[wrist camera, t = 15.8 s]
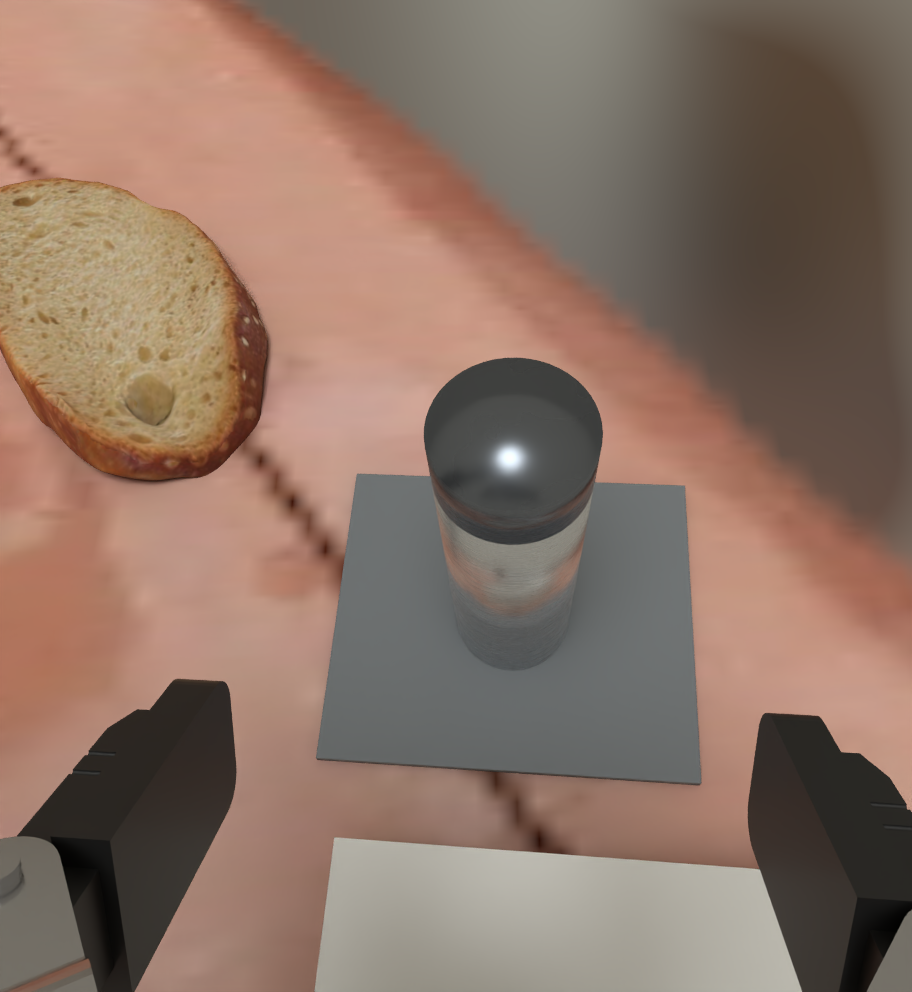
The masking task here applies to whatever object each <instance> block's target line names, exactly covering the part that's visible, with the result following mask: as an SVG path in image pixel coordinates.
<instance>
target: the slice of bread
mask: <svg viewBox="0 0 912 992" xmlns="http://www.w3.org/2000/svg"><path fill="white" fill-rule="evenodd" d="M0 350H1V352H2V354H3V356H4V358H5V361H6V363H7V365H8V367H9V369H10V371H11V373H12V375H13V376H14V378H15V380H16V382H17V383H18V385H19V387H20V388H21V390H22V392H23V393H24V395H25V397H26V399H27V401H28V403H29V405H30V406H31V408H32V410H33V411H34V412H35V414H36V415H37V417H38V418H39V419H40V420H41V421H42V422H43V423H44V424H45V425H46V426H48V427H50V428H52V429H53V430H54V431H55V432H56V434H57V435H58V436H59V437H60V438H61V439H62V440H63V442H64V443H65V444H66V445H67V446H68V447H69V448H70V449H72V450H73V451H74V452H75V453H76V454H77V455H78V456H79V457H81V458H82V459H83V460H84V461H86V462H87V463H89V464H90V465H91V466H93V467H95V468H97V469H98V470H100V471H102V472H106V473H110V474H114V475H117V476H122V477H127V478H134V479H143V480H164V479H171V478H178V477H193V478H198V477H203V476H206V475H208V474H209V473H211V472H213V471H214V470H216V469H217V468H219V467H220V466H221V465H222V464H223V463H224V462H225V461H226V460H227V459H228V458H229V457H230V455H231V454H232V453H233V452H234V451H235V450H236V449H237V448H238V447H239V446H240V445H241V444H242V443H243V441H244V440H245V439H246V438H247V437H248V436H249V434H250V433H251V432H252V431H253V429H254V428H255V427H256V425H257V423H258V421H259V419H260V415H261V397H262V384H263V373H264V365H265V361H266V354H267V336H266V333H265V330H264V327H263V325H262V322H261V320H260V318H259V315H258V311H257V308H256V304H255V302H254V300H253V299H252V297H251V296H250V295H249V294H248V292H247V290H246V289H245V287H244V286H243V284H242V283H241V281H240V280H239V278H238V277H237V276H236V274H235V273H234V272H233V271H232V269H231V268H230V266H229V265H228V264H227V262H226V261H225V259H224V258H223V256H222V254H221V252H220V251H219V249H218V247H217V246H216V244H215V243H214V242H213V241H212V240H211V239H210V238H209V237H208V236H207V235H206V234H205V233H204V232H203V231H202V230H201V229H200V228H199V227H198V226H196V225H195V224H193V223H192V222H191V221H190V220H189V219H188V218H187V217H185V216H184V215H182V214H180V213H178V212H176V211H173V210H166V209H160V208H156V207H153V206H151V205H149V204H147V203H145V202H143V201H141V200H140V199H138V198H137V197H136V196H135V195H133V194H132V193H131V192H129V191H127V190H123V189H121V188H118V187H114V186H110V185H107V184H103V183H100V182H88V181H78V180H71V179H64V178H52V179H39V180H31V181H25V182H21V183H17V184H11V185H6V186H3V187H1V188H0Z"/></svg>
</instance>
